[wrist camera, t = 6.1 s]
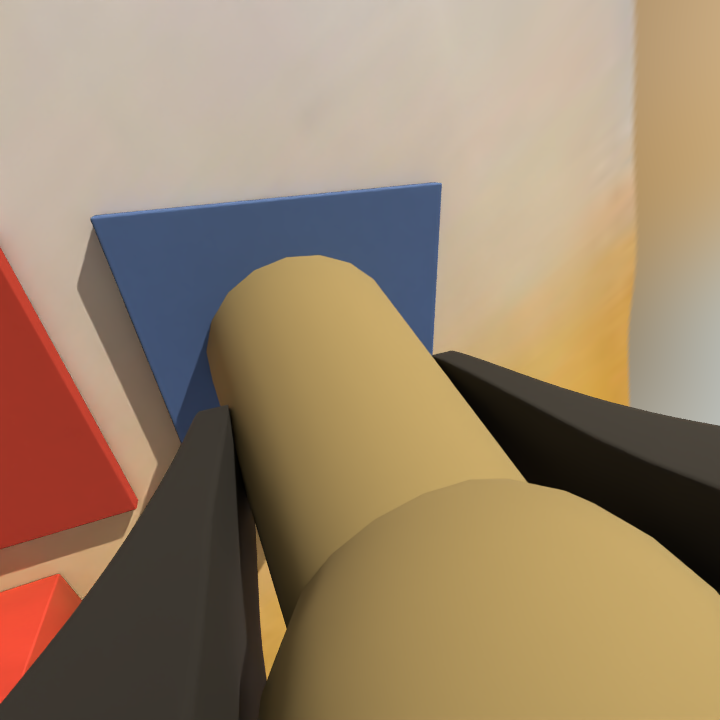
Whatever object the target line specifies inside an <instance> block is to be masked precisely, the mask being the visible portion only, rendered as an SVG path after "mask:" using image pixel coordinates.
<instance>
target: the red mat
mask: <svg viewBox="0 0 720 720" xmlns="http://www.w3.org/2000/svg"><path fill="white" fill-rule="evenodd" d="M137 503H138V499H137V497H136V496H135V494H134V492H133V490H132V488H131V486H130V485H129V483H128V481H127V479H126V477H125V475H124V474H123V472H122V470H121V468H120V466H119V464H118V463H117V461H116V459H115V457H114V455H113V453H112V452H111V450H110V448H109V446H108V444H107V442H106V441H105V439H104V437H103V435H102V433H101V431H100V430H99V428H98V426H97V424H96V422H95V420H94V419H93V417H92V415H91V413H90V411H89V409H88V408H87V406H86V404H85V402H84V400H83V398H82V397H81V395H80V393H79V391H78V389H77V387H76V385H75V384H74V382H73V380H72V378H71V376H70V374H69V373H68V371H67V369H66V367H65V365H64V363H63V362H62V360H61V358H60V356H59V354H58V352H57V351H56V349H55V347H54V345H53V343H52V341H51V340H50V338H49V336H48V334H47V332H46V330H45V329H44V327H43V325H42V323H41V321H40V319H39V318H38V316H37V314H36V312H35V310H34V308H33V307H32V305H31V303H30V301H29V299H28V297H27V296H26V294H25V292H24V290H23V288H22V286H21V285H20V283H19V281H18V279H17V277H16V275H15V274H14V272H13V270H12V268H11V266H10V264H9V263H8V261H7V259H6V257H5V255H4V253H3V252H2V250H1V248H0V549H3V548H6V547H9V546H13V545H16V544H19V543H23V542H26V541H30V540H33V539H36V538H40V537H43V536H47V535H50V534H53V533H57V532H60V531H63V530H67V529H70V528H74V527H77V526H80V525H84V524H87V523H91V522H94V521H97V520H101V519H104V518H107V517H111V516H114V515H118V514H121V513H124V512H128V511H131V510H135V509H136V508H137Z"/></svg>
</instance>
